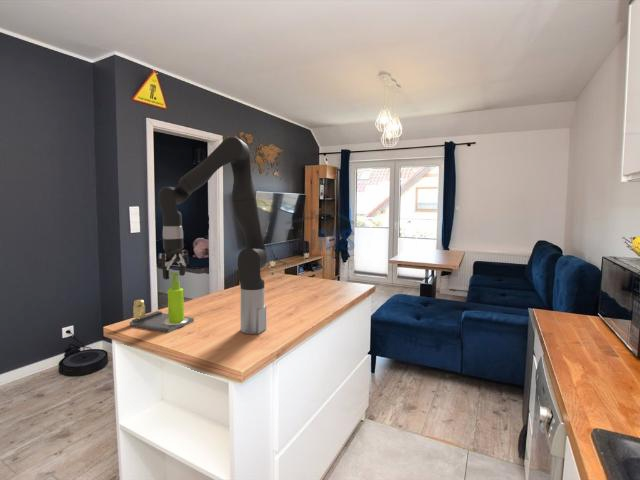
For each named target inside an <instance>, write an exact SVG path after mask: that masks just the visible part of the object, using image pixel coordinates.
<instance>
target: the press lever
mask: <svg viewBox="0 0 640 480" xmlns="http://www.w3.org/2000/svg"><path fill="white" fill-rule="evenodd" d="M132 308H133V319H141V318H144V317H145V315H146V305H145V300H144V299H136V300H134V301H133V306H132Z"/></svg>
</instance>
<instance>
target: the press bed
mask: <svg viewBox="0 0 640 480" xmlns="http://www.w3.org/2000/svg"><path fill="white" fill-rule="evenodd" d="M194 319H195V318H194V317H189V316H184V321H183V322H180V323H169V317H168V313H163V312H162V311H159V310H156V311H154V312H151V313H149V314H145V317H144V318H141V319H136V318H133V319H131V321H129V326H131V327H137V328H142V329H146V330H153V331H156V332H157V331H159V332H164V333H170V332H174V331H175V330H177V329H179V328H182V327H185V326H187V325H189V324H191V323H194V321H195V320H194Z"/></svg>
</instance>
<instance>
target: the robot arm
mask: <svg viewBox="0 0 640 480" xmlns="http://www.w3.org/2000/svg"><path fill="white" fill-rule="evenodd" d="M229 163H230V166H231V171H232V176H233V184H232V191H231V203H232V208H233V213H234V216H235V219H236V221H237V223H238V225H239V228H240V229H241V232H243V236H244V240H245V245H246V246H245V247H246V248H243V249H241V251H240V252H239V253H238V257H237V277H238V281H239V284H240V286H239V287H240V332H241V333H243V334H247V335H248V334H249V335H256V334H257V335H260V334H261V333H263V332H264V331H265V330H267V305H265V280H264V279H263V278H262V276H261V269H262V268H263V267H264V266H265V265H266V264H267V263H268V253H267V248H266V246H265V242H264V238H263V233H262V230H261V227H262V226H261V221H260V216H259V208H258V203H257V196H256V191H255V186H254V182H253V177H252V168H251V167H252V165H251V151H250V148H249V145H248V144H247V143H246V142H244V141H243V140H242V139H241V138H238V137H236V136H228V137H227V138H225V139H224V140H223V141H222V142H220V144H218V146H217V147H216V148H215V149H214V150H213V151H212V152H211V153H210V154H209V155H207V157H206V158H205V159H204V160H202V161H201V162H200V163H198V165H196V166H195V167H194V168H192V169H191V170H190V171H188V172H187V173H185V174H183V176H181V177H180V178H179V180H178V184H177V185H175V186H163V187H161V189H160V190H159V193H158V197H157V199H158V204H159V208H160V211H161V214H162V225H163V226H162V244H163V245H162V246H163V247H162V248H163V250H164V253H158V254H157V268H158V269H159V270H161V271H162V278H163V279H164V280H170V275H169V273H170V270H169V269H170V267H171V266H172V265H173V264H175V263H177V264H178V266H179V267H178V270H179V271H178V273H179V275H178V276H180V277H181V276H185V275H186V266H187V265H189V263H190V258H189V250H187V249H184V230H183V216H182V213H181V212H180V211H178V207H177V205H180V204H182V203H184V202H185V201H186V200H187V199H188V198H190V196H191V195H192V193H193V192H196V191H197V190H198V189H200V188H202V187H203V186H204V185H205V184H206V183H207V182H208V181H209V180H210V179H211V178H212V176H213V175H214V174H215V173H216V172H217V171H219V169H220V168H222V167H224V166H225V165H228V164H229Z"/></svg>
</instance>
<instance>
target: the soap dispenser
mask: <svg viewBox="0 0 640 480" xmlns="http://www.w3.org/2000/svg"><path fill="white" fill-rule="evenodd" d="M169 276H172V280H170V288H169V289H167V308H168V309H167V310H168V311H167V312H168V313H167V314H168V317H169V323H180V322H183V321H184V317H185V304H184V303H185V301H184V298H185V297H184V288H183V287H182V288H181V281H180V279H178V276H180V275H179V272H174V271H173V272H169Z"/></svg>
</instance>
